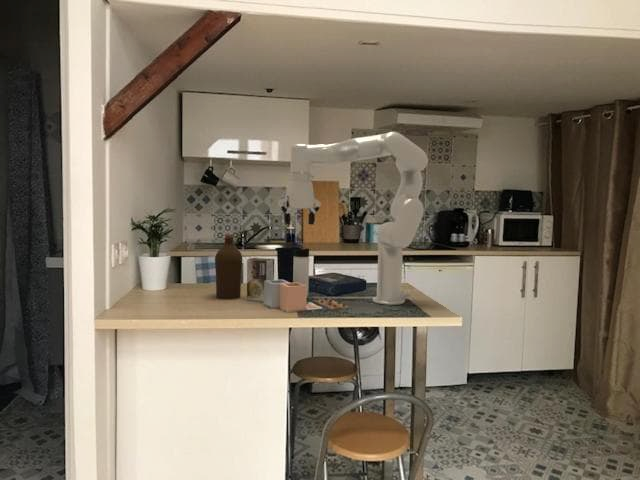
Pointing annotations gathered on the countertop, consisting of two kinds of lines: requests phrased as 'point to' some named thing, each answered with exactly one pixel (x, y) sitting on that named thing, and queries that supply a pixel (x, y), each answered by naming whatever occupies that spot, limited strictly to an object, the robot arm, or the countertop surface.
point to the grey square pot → (272, 292)
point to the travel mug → (301, 267)
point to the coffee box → (258, 277)
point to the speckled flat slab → (330, 304)
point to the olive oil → (228, 270)
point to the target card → (312, 306)
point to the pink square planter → (292, 297)
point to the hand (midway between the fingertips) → (299, 224)
